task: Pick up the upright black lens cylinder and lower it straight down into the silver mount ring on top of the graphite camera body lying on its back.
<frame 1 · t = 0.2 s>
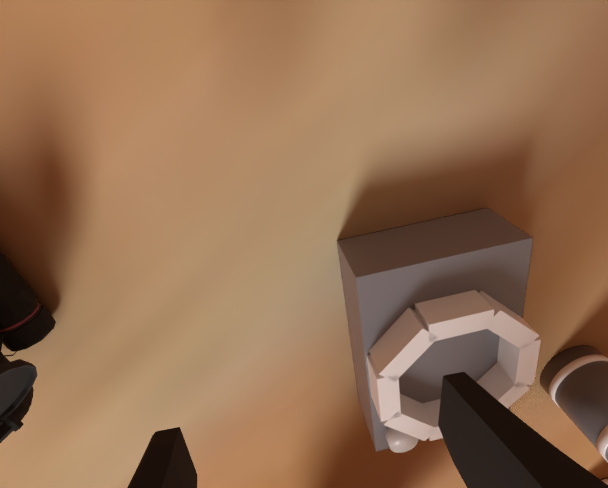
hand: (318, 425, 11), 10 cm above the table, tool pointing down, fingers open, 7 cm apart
camera body: (416, 316, 23), on the table
lens: (569, 369, 27), on the table
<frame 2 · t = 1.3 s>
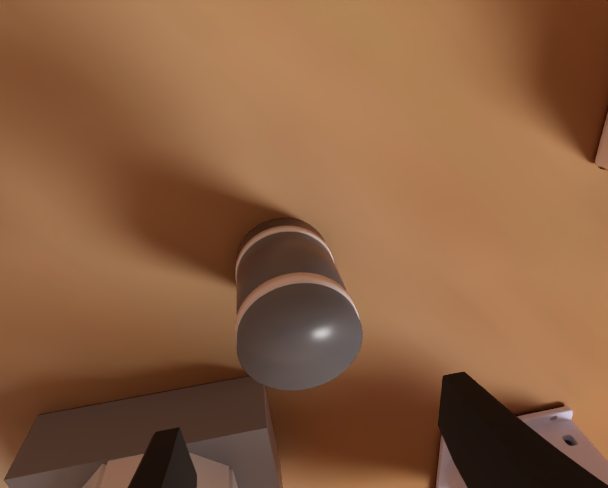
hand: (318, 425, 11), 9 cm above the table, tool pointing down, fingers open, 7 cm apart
camera body: (171, 441, 23), on the table
lens: (282, 260, 19), on the table
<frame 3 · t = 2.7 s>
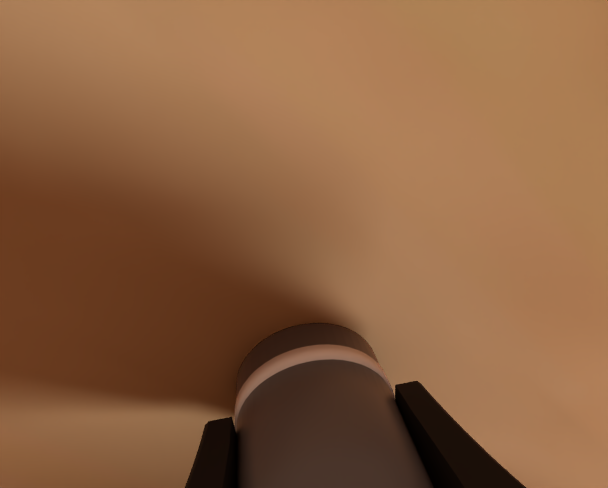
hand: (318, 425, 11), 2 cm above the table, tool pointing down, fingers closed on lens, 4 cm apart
lens: (308, 380, 12), on the table, touching gripper
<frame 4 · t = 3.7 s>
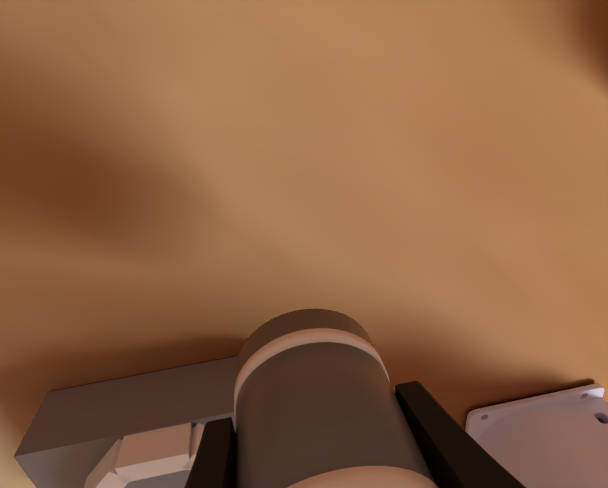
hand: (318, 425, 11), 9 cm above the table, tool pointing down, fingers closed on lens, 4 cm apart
camera body: (187, 420, 22), on the table
lens: (306, 365, 12), point 7 cm above the table, touching gripper
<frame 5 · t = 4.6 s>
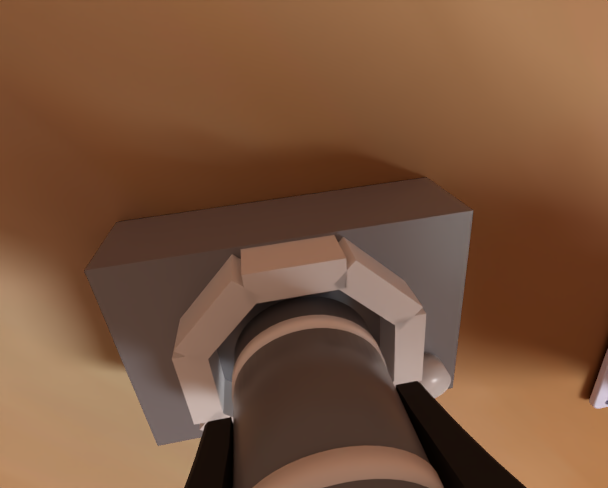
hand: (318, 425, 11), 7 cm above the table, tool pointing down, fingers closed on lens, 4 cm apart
camera body: (288, 285, 17), on the table
lens: (303, 353, 13), point 5 cm above the table, touching gripper
when the fingers open (6 cm above the table, at t = 5.2 s): lens stays where it is, resting on camera body.
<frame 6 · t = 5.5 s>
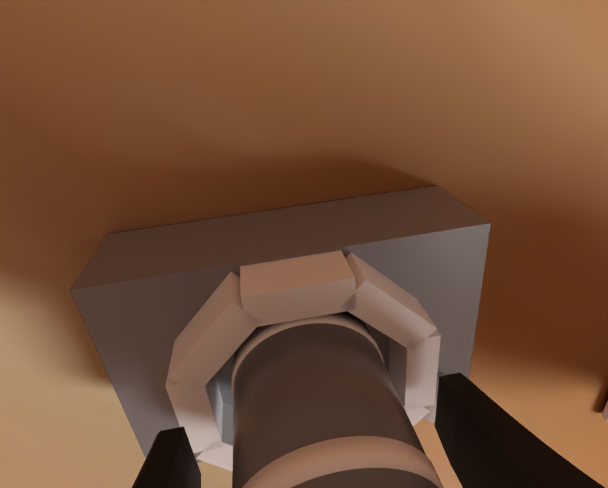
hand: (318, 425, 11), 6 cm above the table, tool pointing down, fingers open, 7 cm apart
camera body: (290, 299, 16), on the table
lens: (302, 349, 13), point 4 cm above the table, touching camera body
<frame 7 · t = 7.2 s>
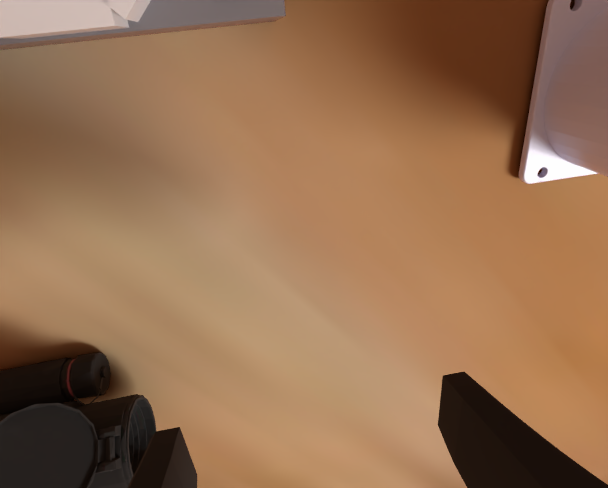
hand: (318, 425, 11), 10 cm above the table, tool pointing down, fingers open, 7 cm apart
night vision scope: (5, 406, 21), on the table
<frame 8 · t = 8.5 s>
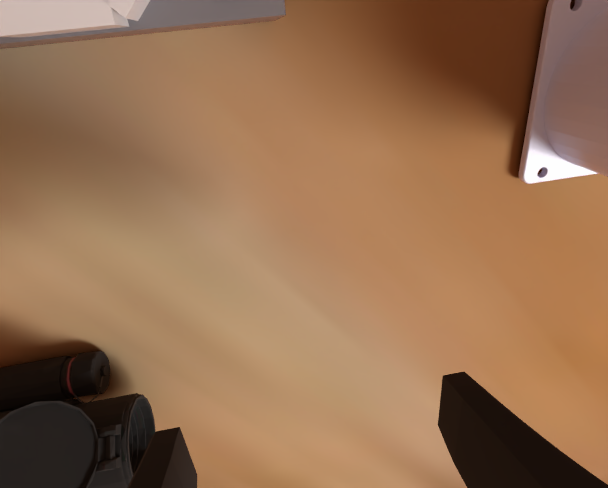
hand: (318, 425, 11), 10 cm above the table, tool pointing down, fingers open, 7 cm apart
night vision scope: (3, 404, 21), on the table
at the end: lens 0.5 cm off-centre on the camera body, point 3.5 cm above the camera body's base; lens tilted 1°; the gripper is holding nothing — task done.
